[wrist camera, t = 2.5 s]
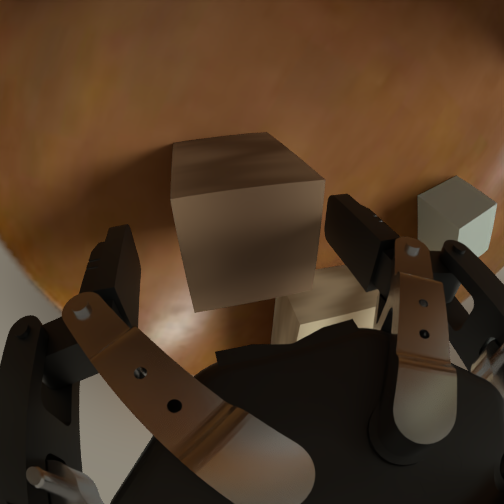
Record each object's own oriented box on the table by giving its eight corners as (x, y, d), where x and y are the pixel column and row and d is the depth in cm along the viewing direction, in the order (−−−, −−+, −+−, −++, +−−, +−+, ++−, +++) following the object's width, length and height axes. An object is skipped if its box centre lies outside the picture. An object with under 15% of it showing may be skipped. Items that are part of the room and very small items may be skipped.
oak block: (386, 255, 23) (419, 294, 19) (357, 330, 29) (378, 366, 25) (276, 273, 21) (300, 324, 17) (268, 351, 27) (283, 395, 23)
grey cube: (455, 175, 20) (497, 203, 16) (453, 219, 23) (487, 249, 19) (416, 195, 20) (459, 228, 16) (417, 241, 23) (451, 276, 19)
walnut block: (267, 132, 15) (325, 179, 9) (267, 212, 18) (312, 290, 12) (173, 142, 14) (170, 199, 8) (185, 224, 17) (194, 312, 11)
